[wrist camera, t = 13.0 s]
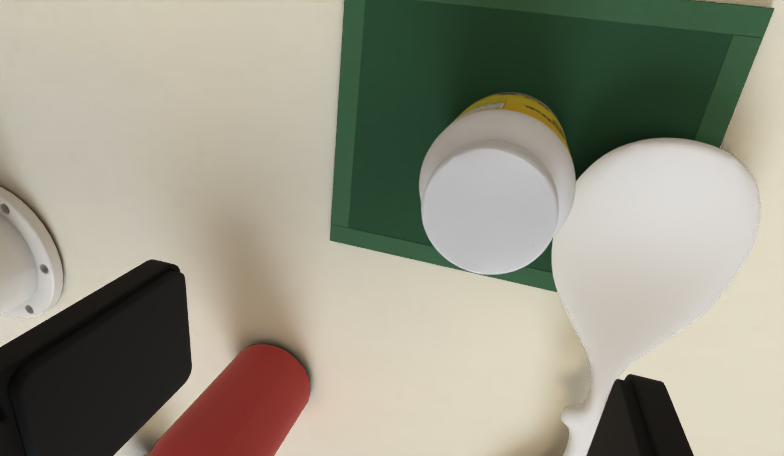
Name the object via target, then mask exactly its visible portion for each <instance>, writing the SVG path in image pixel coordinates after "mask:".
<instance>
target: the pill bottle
mask: <svg viewBox="0 0 784 456" xmlns="http://www.w3.org/2000/svg"><path fill="white" fill-rule="evenodd" d="M575 186H576V178H575V170H574V164H573V161H572V157H571V155H570V152H569V148H568V145H567V141H566V138H565V134H564V131H563V128H562V126H561V124H560V122H559V120H558V119H557V117H556V116H555V114H554V113H553V112H552V111H551V110H550V109H549V108H548V107H547V106H546V105H545V104H543V103H542V102H541V101H539V100H537V99H535V98H533V97H531V96H528V95H525V94H521V93H515V92H504V93H497V94H492V95H489V96H486V97H484V98H481V99H480V100H478V101H476V102H475V103H473V104H472V105H470V106H469V107H468V108H467V109H466V110H464V111H463V112H462V113H461V114H460V115H459V116H458V117H457V118H456V119H455V120H454V121H453V122H452V123H451V124H450V125H449V126H448V127H447V128H446V129H445V130H444V131H443V132H442V133H441V134H440V135H439V136H438V137H437V138H436V140H435V141H434V142H433V144H432V145H431V147H430V149H429V150H428V152H427V154H426V156H425V158H424V161H423V164H422V167H421V172H420V178H419V193H420V199H421V214H422V222H423V226H424V229H425V231H426V234H427V236H428V238H429V240H430V241H431V243H432V244H433V246H434V247H435V248H436V250H437V251H438V252H439V253H440V254H441V255H442V256H443V257H444V258H445V259H447V260H448V261H450V262H451V263H453V264H454V265H456V266H458V267H460V268H462V269H465V270H467V271H470V272H474V273H479V274H486V275H494V274H504V273H509V272H512V271H515V270H518V269H520V268H523V267H525V266H526V265H528V264H530V263H531V262H532V261H534V260H535V259H536V258H538V257H539V256H540V255H541V254H542V253H543V251H544V250H545V249H546V248H547V246H548V245H549V243H550V242H551V240H552V238H553V237H554V236H555V235H556V234H557V232H558V231H559V230H560V229H561V227H562V226H563V224H564V223H565V221H566V220H567V218H568V216H569V214H570V211H571V209H572V206H573V202H574V197H575Z"/></svg>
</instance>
